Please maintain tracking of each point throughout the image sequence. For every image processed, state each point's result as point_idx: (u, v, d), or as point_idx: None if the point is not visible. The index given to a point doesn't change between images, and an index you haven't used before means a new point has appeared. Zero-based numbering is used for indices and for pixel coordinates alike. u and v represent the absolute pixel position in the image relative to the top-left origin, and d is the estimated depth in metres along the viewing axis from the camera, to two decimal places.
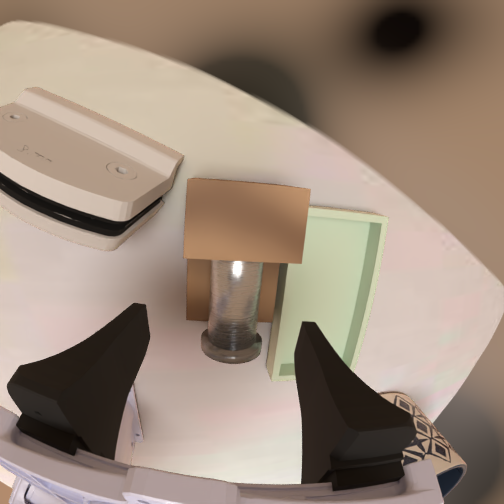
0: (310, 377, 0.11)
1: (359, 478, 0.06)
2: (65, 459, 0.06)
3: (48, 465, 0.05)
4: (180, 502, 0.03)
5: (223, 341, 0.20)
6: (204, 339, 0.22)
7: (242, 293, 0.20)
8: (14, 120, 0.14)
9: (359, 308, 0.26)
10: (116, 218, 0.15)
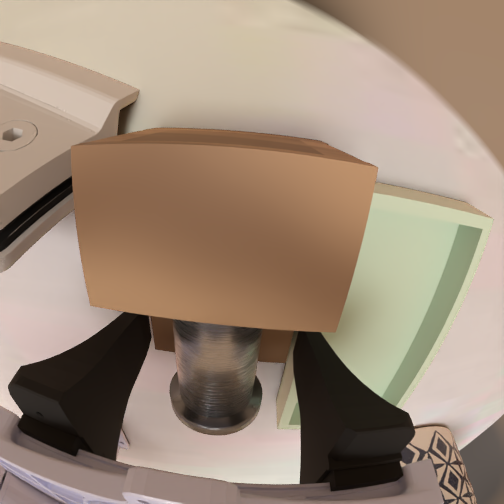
0: (309, 377, 0.11)
1: (357, 478, 0.06)
2: (65, 459, 0.06)
3: (48, 465, 0.05)
4: (180, 502, 0.03)
5: (195, 405, 0.12)
6: (173, 387, 0.13)
7: (220, 353, 0.10)
8: None
9: (419, 346, 0.15)
10: None
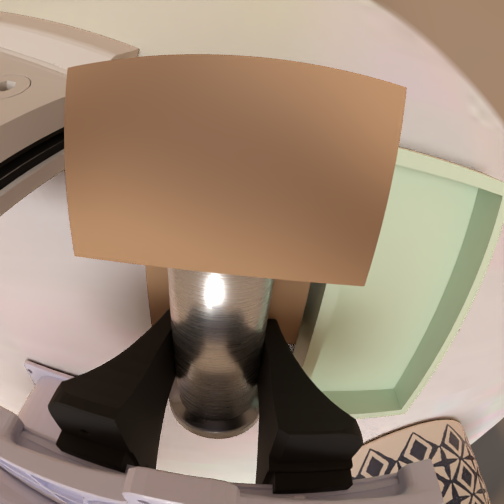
0: (264, 375, 0.11)
1: (300, 483, 0.06)
2: (65, 459, 0.06)
3: (48, 465, 0.05)
4: (180, 502, 0.03)
5: (194, 407, 0.11)
6: (172, 387, 0.13)
7: (219, 353, 0.10)
8: None
9: (438, 328, 0.14)
10: None
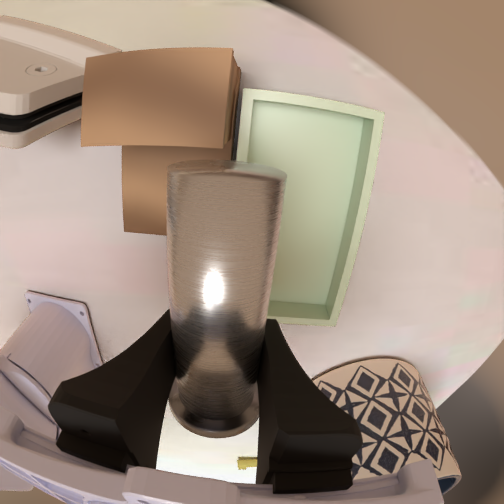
0: (264, 375, 0.11)
1: (300, 483, 0.06)
2: (65, 459, 0.06)
3: (48, 465, 0.05)
4: (180, 502, 0.03)
5: (193, 405, 0.11)
6: (172, 387, 0.13)
7: (218, 351, 0.10)
8: None
9: (346, 236, 0.19)
10: (13, 112, 0.10)
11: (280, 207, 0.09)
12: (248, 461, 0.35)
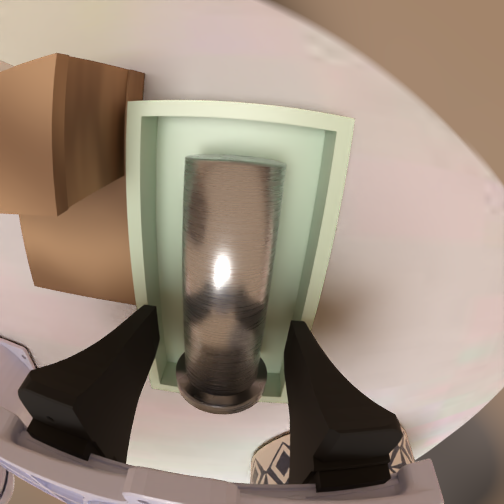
0: (297, 376, 0.11)
1: (343, 480, 0.06)
2: (65, 459, 0.06)
3: (48, 465, 0.05)
4: (180, 502, 0.03)
5: (202, 382, 0.12)
6: (179, 368, 0.14)
7: (229, 321, 0.11)
8: None
9: (299, 302, 0.14)
10: None
11: (281, 190, 0.10)
12: None
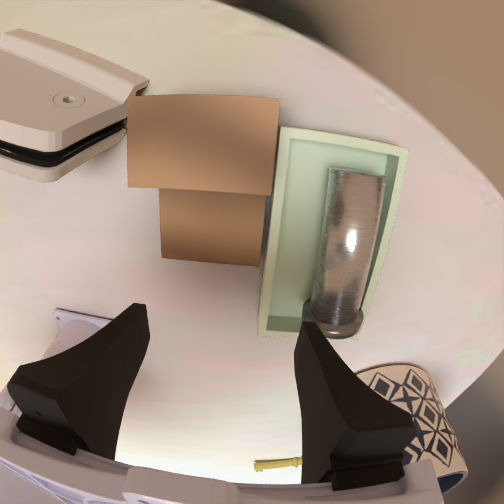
0: (310, 377, 0.11)
1: (359, 478, 0.06)
2: (65, 459, 0.06)
3: (48, 465, 0.05)
4: (180, 502, 0.03)
5: (341, 317, 0.19)
6: (313, 320, 0.20)
7: (366, 265, 0.18)
8: None
9: None
10: (46, 149, 0.12)
11: None
12: (264, 464, 0.37)
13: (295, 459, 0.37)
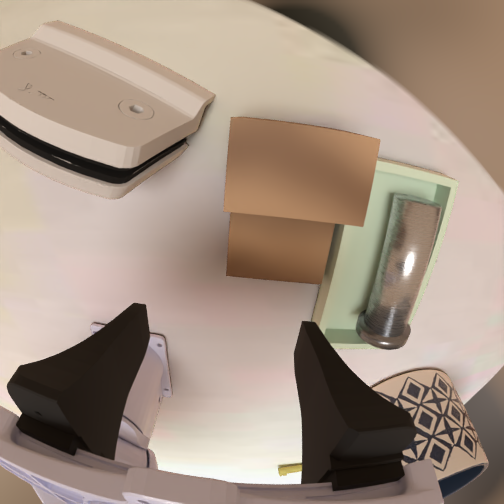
0: (310, 377, 0.11)
1: (359, 478, 0.06)
2: (65, 459, 0.06)
3: (48, 465, 0.05)
4: (180, 502, 0.03)
5: (396, 330, 0.20)
6: (370, 333, 0.21)
7: (420, 283, 0.19)
8: (24, 57, 0.12)
9: None
10: (120, 165, 0.13)
11: None
12: (288, 468, 0.38)
13: None
